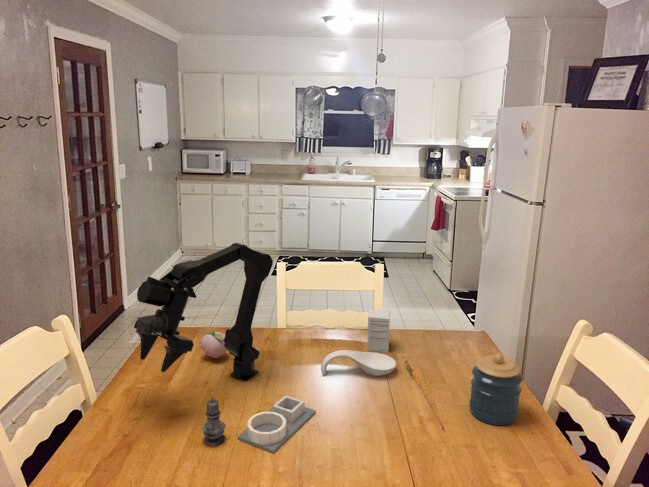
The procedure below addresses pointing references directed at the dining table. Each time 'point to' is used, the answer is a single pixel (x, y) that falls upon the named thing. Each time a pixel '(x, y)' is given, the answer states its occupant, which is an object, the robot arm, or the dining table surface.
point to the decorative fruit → (213, 344)
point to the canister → (495, 390)
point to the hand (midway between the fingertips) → (152, 365)
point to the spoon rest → (363, 361)
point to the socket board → (276, 424)
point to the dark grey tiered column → (213, 425)
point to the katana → (415, 379)
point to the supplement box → (378, 330)
